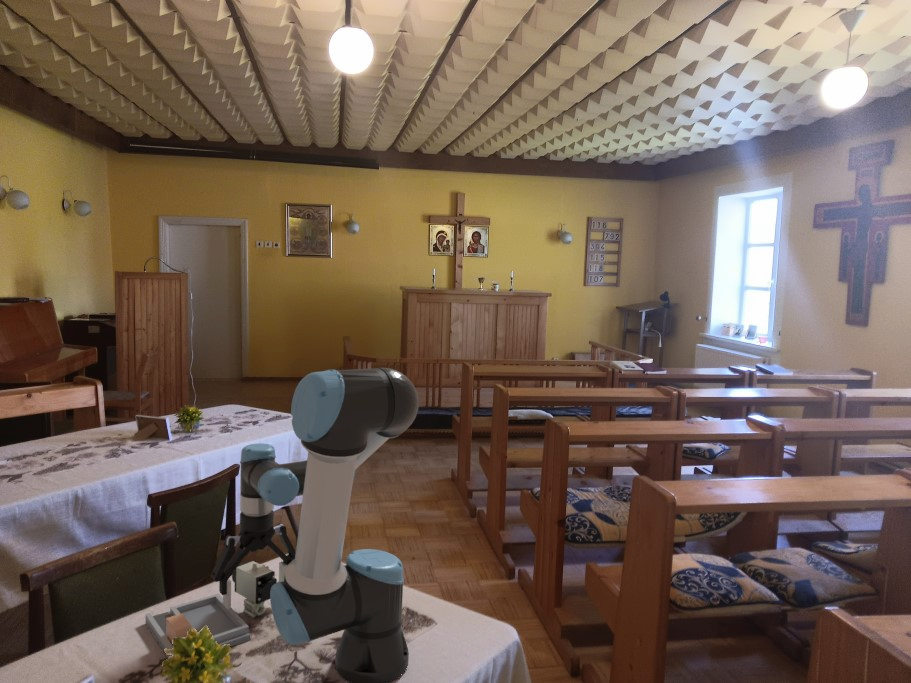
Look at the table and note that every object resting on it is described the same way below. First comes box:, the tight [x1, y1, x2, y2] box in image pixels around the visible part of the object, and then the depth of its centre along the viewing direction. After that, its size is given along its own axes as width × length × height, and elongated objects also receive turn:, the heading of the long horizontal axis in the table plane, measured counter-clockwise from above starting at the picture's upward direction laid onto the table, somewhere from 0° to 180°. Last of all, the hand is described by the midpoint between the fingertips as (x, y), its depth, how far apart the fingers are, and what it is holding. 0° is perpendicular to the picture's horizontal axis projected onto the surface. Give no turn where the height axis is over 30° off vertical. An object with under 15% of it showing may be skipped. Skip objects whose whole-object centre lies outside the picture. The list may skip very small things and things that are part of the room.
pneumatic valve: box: [231, 559, 278, 619], centre depth 147 cm, size 6×12×12 cm, turn 53°
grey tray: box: [145, 593, 251, 658], centre depth 139 cm, size 20×16×4 cm
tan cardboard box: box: [166, 614, 191, 646], centre depth 133 cm, size 6×3×4 cm, turn 41°
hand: (255, 597), depth 148 cm, fingers open, 13 cm apart
